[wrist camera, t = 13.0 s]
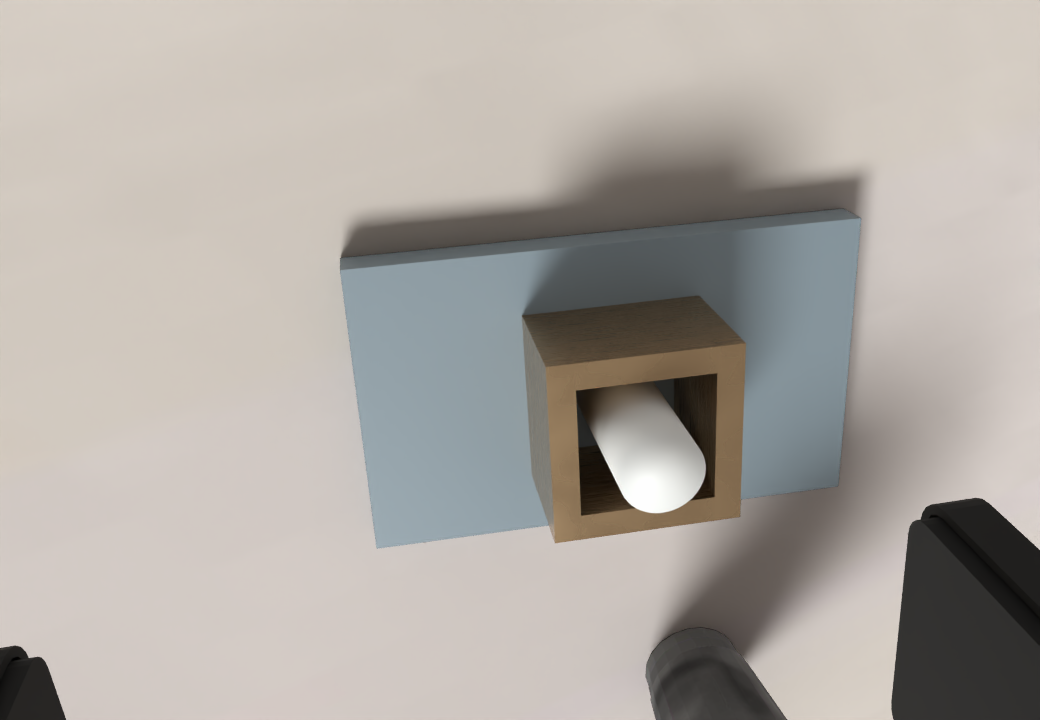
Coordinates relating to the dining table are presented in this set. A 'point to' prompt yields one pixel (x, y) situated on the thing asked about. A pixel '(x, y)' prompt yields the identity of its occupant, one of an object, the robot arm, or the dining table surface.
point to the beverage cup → (705, 680)
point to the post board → (481, 365)
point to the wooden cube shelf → (626, 360)
